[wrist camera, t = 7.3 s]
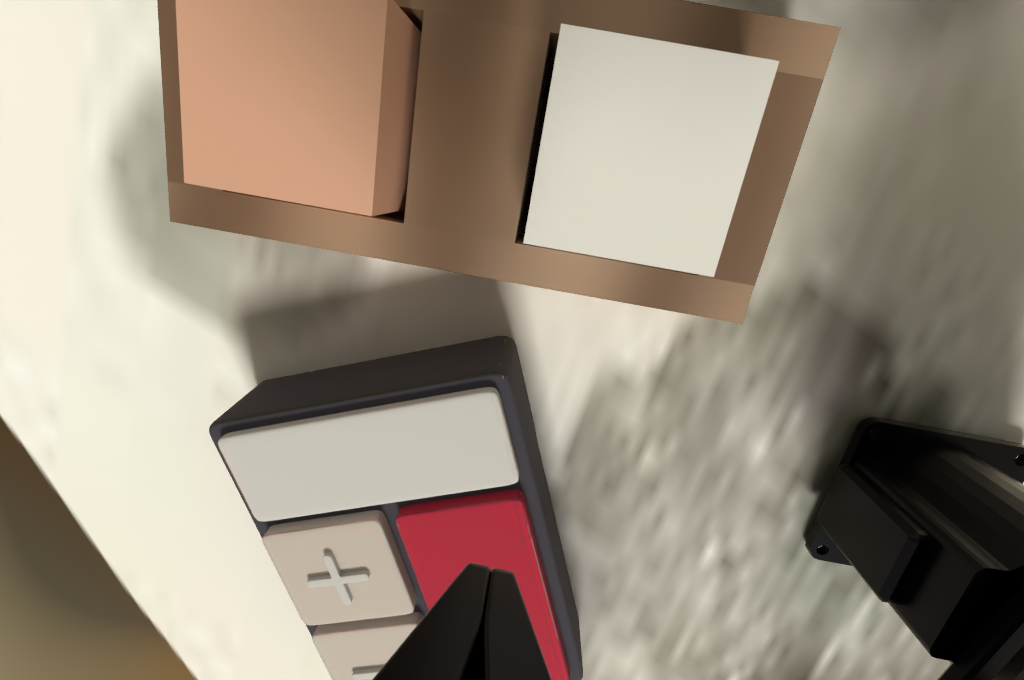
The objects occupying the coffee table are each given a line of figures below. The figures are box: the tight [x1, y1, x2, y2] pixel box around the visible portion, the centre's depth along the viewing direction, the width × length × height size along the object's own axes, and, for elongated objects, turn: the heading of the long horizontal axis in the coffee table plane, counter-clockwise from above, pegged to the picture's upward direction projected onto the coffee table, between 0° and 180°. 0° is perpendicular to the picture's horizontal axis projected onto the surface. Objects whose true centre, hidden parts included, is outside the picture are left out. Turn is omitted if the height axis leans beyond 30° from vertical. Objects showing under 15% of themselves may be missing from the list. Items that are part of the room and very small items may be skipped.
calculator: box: [209, 336, 583, 680], centre depth 20 cm, size 11×4×15 cm
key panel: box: [157, 0, 841, 324], centre depth 15 cm, size 18×8×3 cm, turn 81°
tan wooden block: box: [176, 0, 422, 216], centre depth 14 cm, size 5×5×4 cm
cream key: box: [523, 23, 779, 277], centre depth 14 cm, size 5×5×4 cm
